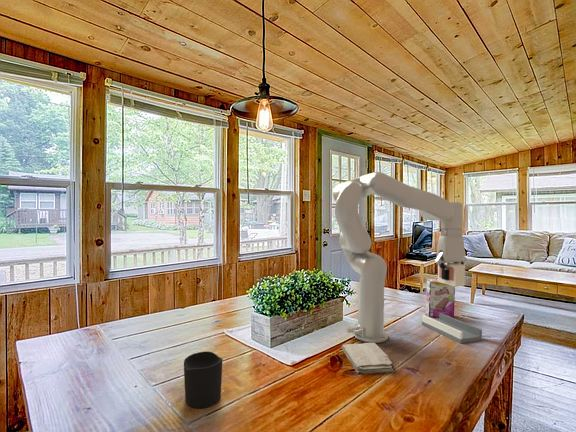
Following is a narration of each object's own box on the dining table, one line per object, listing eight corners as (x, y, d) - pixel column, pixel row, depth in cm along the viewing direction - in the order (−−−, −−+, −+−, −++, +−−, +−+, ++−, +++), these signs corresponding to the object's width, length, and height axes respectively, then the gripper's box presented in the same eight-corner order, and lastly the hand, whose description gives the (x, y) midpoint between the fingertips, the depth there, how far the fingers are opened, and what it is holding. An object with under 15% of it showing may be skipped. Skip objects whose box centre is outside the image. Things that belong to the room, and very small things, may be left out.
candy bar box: (429, 317, 147) (429, 281, 146) (425, 313, 152) (426, 278, 151) (455, 318, 146) (455, 281, 145) (450, 314, 151) (451, 279, 150)
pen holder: (224, 388, 87) (225, 351, 87) (218, 409, 78) (218, 368, 77) (189, 388, 87) (189, 351, 87) (178, 410, 77) (178, 368, 77)
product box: (437, 281, 132) (437, 262, 132) (446, 280, 134) (447, 261, 134) (454, 286, 124) (455, 265, 124) (465, 285, 125) (465, 265, 125)
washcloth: (357, 376, 95) (357, 365, 95) (340, 350, 113) (340, 341, 113) (396, 374, 97) (396, 363, 96) (373, 348, 114) (373, 339, 114)
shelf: (421, 324, 137) (422, 315, 137) (440, 322, 140) (441, 313, 140) (460, 343, 118) (460, 332, 118) (481, 340, 121) (481, 329, 121)
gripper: (460, 232, 135) (460, 276, 135) (427, 232, 129) (426, 278, 130) (476, 233, 128) (475, 279, 128) (441, 234, 122) (440, 282, 123)
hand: (450, 278), depth 129 cm, fingers closed on product box, 4 cm apart
